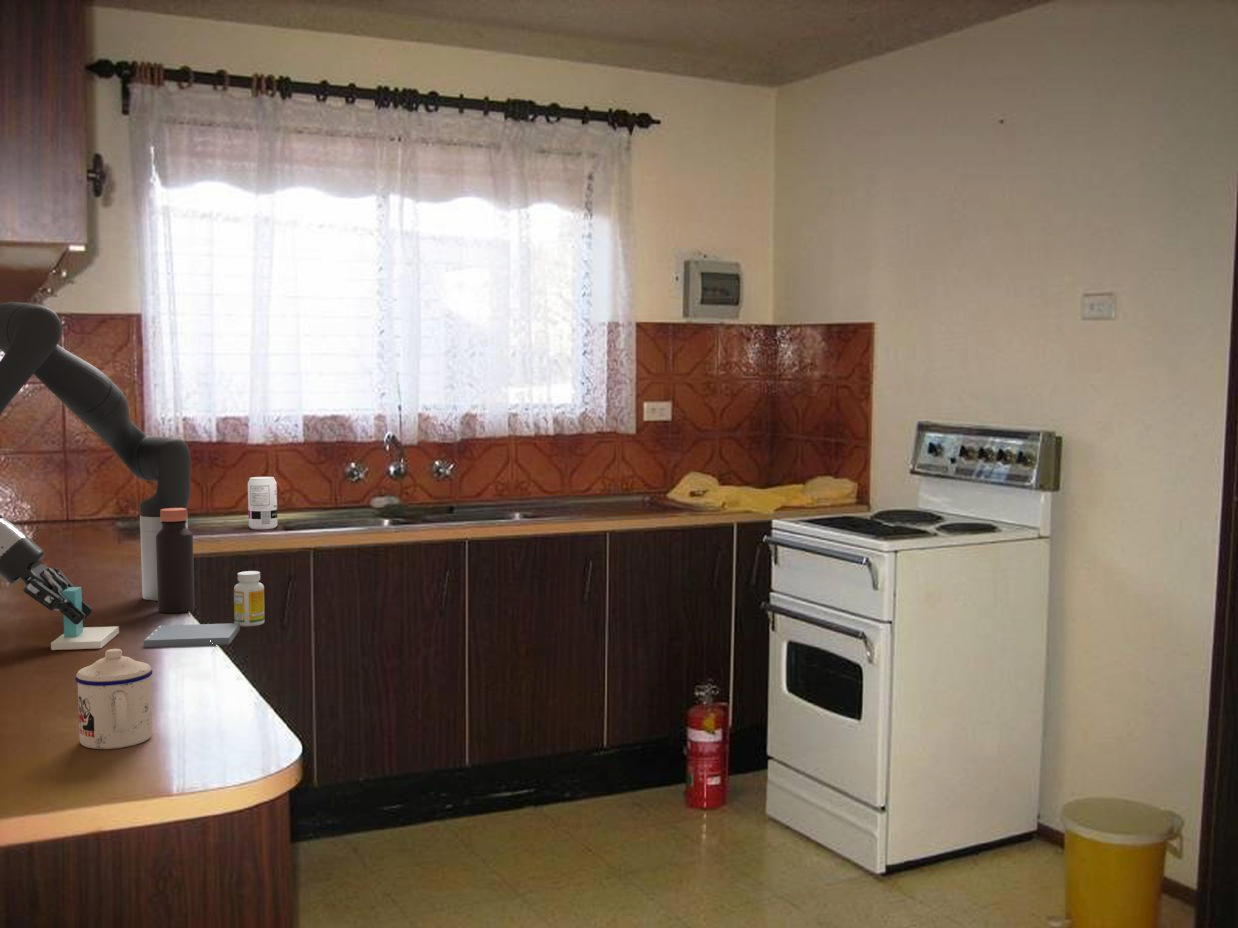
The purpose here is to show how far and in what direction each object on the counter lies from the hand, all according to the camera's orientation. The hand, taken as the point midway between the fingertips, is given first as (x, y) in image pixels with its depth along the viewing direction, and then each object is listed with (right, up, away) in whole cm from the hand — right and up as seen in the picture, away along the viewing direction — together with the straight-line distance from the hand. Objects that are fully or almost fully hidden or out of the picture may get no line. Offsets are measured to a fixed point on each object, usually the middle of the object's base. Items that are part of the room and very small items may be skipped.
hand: (85, 617), depth 212 cm
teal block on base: (0, -4, 0) cm, 4 cm away
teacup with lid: (+29, -9, -57) cm, 64 cm away
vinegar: (+6, -2, +27) cm, 28 cm away
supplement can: (-13, +7, +151) cm, 151 cm away
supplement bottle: (+24, -3, +15) cm, 29 cm away
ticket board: (+18, -4, +3) cm, 18 cm away
